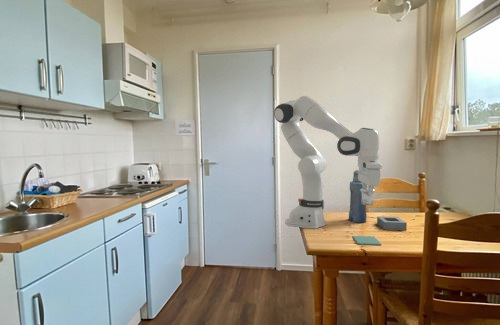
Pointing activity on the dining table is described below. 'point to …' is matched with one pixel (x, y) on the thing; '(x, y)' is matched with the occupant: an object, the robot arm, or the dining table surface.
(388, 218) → the housing
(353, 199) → the bottle
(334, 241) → the dining table surface
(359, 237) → the mat
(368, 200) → the end cover
